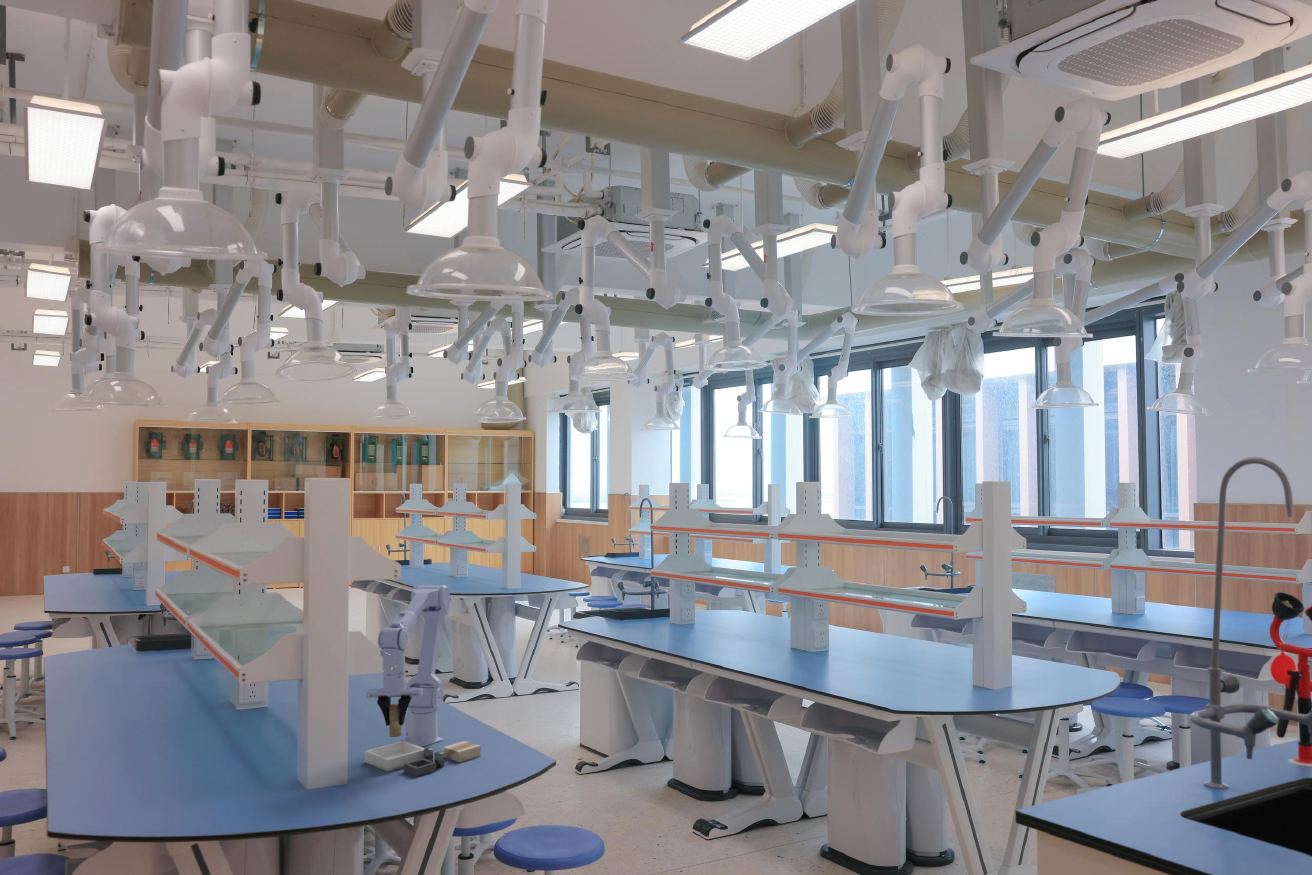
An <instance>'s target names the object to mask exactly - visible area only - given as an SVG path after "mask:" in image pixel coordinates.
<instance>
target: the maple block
mask: <svg viewBox="0 0 1312 875" xmlns="http://www.w3.org/2000/svg"><path fill="white" fill-rule="evenodd" d="M442 750H443V751H442V752H444V759H448V760H452V761H454V762H457V763H461V762H464V761H469V760H471V759H475V758H477V757H480V756H481V755H482V751H481V745H479V744H476V743H473V742H470V741H466V740H464V741H460V742H459V741H458V742H456V743H452V744H450V745H449V744H448V745H446V746H443V747H442Z"/></svg>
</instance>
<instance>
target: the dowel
mask: <svg viewBox="0 0 1312 875" xmlns="http://www.w3.org/2000/svg"><path fill="white" fill-rule="evenodd" d="M399 718H400V712H399V703H391V704H390V705H389V732H388V733H389V737H390V738H397V737H401V736H402V725H400V723H399Z"/></svg>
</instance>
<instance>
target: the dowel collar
mask: <svg viewBox="0 0 1312 875" xmlns="http://www.w3.org/2000/svg"><path fill="white" fill-rule="evenodd" d="M403 768H404V769H403V770H404V773H407V774H409V775H412V776H414V777H419V776H420V777H421V776H424V775H427V774H429V773H434V772H436V771H437V768H436V763H435V762H434V760H433V761H430V760H427V759H425V758H423V759H420V760H416V761H412V762H409V763H405V764H404V767H403Z"/></svg>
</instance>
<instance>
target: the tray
mask: <svg viewBox="0 0 1312 875" xmlns="http://www.w3.org/2000/svg"><path fill="white" fill-rule="evenodd" d="M425 748H426V747H425ZM425 748H424V747H423V746H422V747H419V746H417V745H414V744H411V743H408V742H406V741H403V740H401V741H398V742H393V743H390V744H385V745H382V746H378V747H375V748H372V749H371V748H370V749H368V750H364V763H366V764H369V766H372V767H375V768H378V769H380V770H382V771H385V772H387V773H388V772H391V771H396V770H399V769H402V768H404V764H405V763H409V762H412V761H416V760H420V759H423V758H424V749H425Z"/></svg>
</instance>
